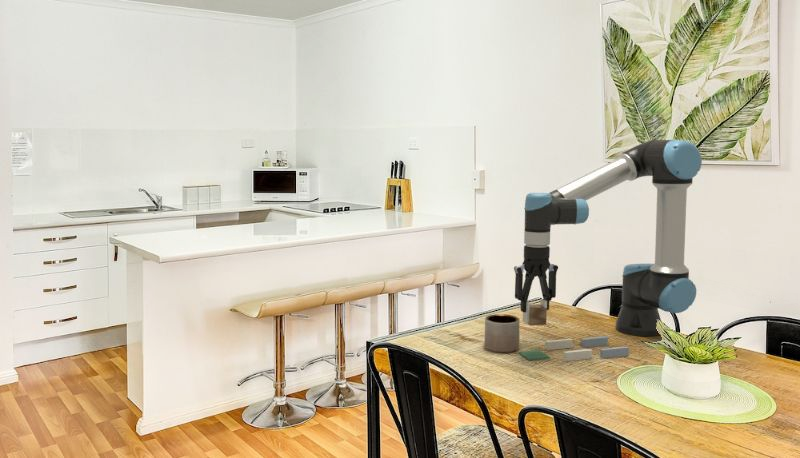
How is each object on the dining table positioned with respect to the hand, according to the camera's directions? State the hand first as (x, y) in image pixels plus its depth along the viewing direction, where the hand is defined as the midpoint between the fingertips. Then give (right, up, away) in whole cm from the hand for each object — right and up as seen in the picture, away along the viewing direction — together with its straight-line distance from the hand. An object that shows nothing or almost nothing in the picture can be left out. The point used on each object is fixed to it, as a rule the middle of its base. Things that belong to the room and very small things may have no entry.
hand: (534, 321), depth 197 cm
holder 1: (+11, -10, +4) cm, 16 cm away
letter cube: (0, 0, 0) cm, 0 cm away
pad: (0, -11, +1) cm, 11 cm away
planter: (-8, -10, +9) cm, 16 cm away
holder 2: (+23, -10, +6) cm, 26 cm away
